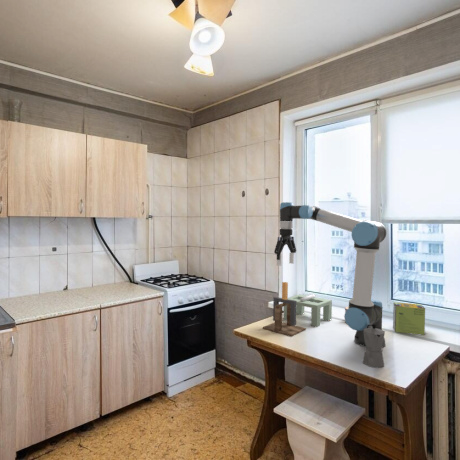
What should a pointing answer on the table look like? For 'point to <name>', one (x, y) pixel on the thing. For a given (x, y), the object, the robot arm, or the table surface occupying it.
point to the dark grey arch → (286, 300)
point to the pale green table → (312, 307)
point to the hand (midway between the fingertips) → (285, 264)
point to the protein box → (409, 318)
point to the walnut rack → (283, 327)
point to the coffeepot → (373, 346)
